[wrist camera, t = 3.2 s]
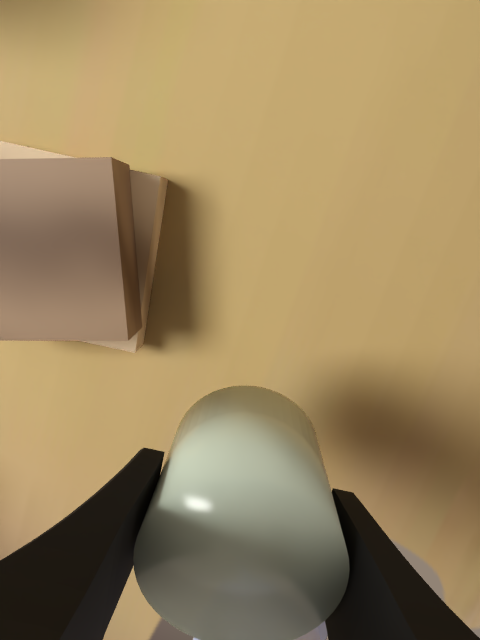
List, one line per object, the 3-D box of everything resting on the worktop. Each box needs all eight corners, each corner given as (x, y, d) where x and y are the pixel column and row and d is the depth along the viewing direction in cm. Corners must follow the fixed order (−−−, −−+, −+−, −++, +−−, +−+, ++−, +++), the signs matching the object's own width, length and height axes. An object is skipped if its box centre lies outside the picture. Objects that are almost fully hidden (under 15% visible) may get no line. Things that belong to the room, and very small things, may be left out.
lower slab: (147, 339, 19) (135, 352, 18) (-4, 307, 19) (-33, 317, 17) (171, 181, 17) (160, 176, 15) (2, 143, 17) (-30, 134, 15)
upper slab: (142, 327, 17) (128, 341, 15) (-5, 326, 17) (-37, 340, 16) (129, 164, 15) (111, 157, 13) (-35, 167, 16) (-76, 159, 14)
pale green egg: (298, 522, 14) (317, 665, 9) (165, 495, 14) (121, 626, 9) (335, 402, 12) (377, 505, 8) (187, 371, 12) (148, 457, 8)
